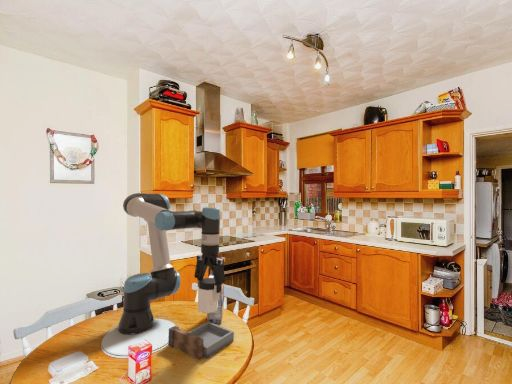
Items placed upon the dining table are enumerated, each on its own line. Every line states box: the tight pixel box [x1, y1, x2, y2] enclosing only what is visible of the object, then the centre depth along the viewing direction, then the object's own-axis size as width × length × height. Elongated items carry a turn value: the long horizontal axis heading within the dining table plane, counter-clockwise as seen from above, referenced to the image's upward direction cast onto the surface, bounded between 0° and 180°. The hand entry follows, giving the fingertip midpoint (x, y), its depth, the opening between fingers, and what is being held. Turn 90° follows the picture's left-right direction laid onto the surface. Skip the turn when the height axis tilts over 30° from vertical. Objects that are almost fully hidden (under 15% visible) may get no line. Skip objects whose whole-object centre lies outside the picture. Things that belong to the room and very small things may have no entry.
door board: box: [167, 325, 204, 361], centre depth 106 cm, size 17×3×7 cm, turn 55°
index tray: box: [187, 321, 235, 359], centre depth 112 cm, size 15×16×4 cm
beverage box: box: [206, 271, 225, 325], centre depth 135 cm, size 7×11×22 cm, turn 1°
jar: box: [197, 277, 218, 315], centre depth 113 cm, size 9×8×12 cm
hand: (208, 297), depth 113 cm, fingers closed on jar, 8 cm apart
